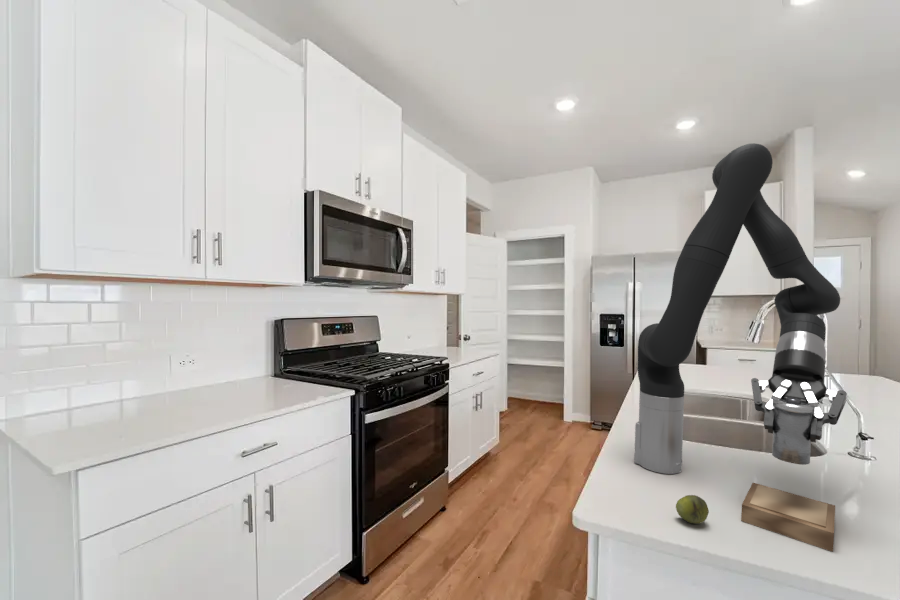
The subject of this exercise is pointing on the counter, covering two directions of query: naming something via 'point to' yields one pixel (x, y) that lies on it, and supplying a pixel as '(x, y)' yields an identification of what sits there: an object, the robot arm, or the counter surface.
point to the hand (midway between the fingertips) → (791, 434)
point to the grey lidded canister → (792, 430)
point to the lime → (692, 509)
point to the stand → (790, 515)
